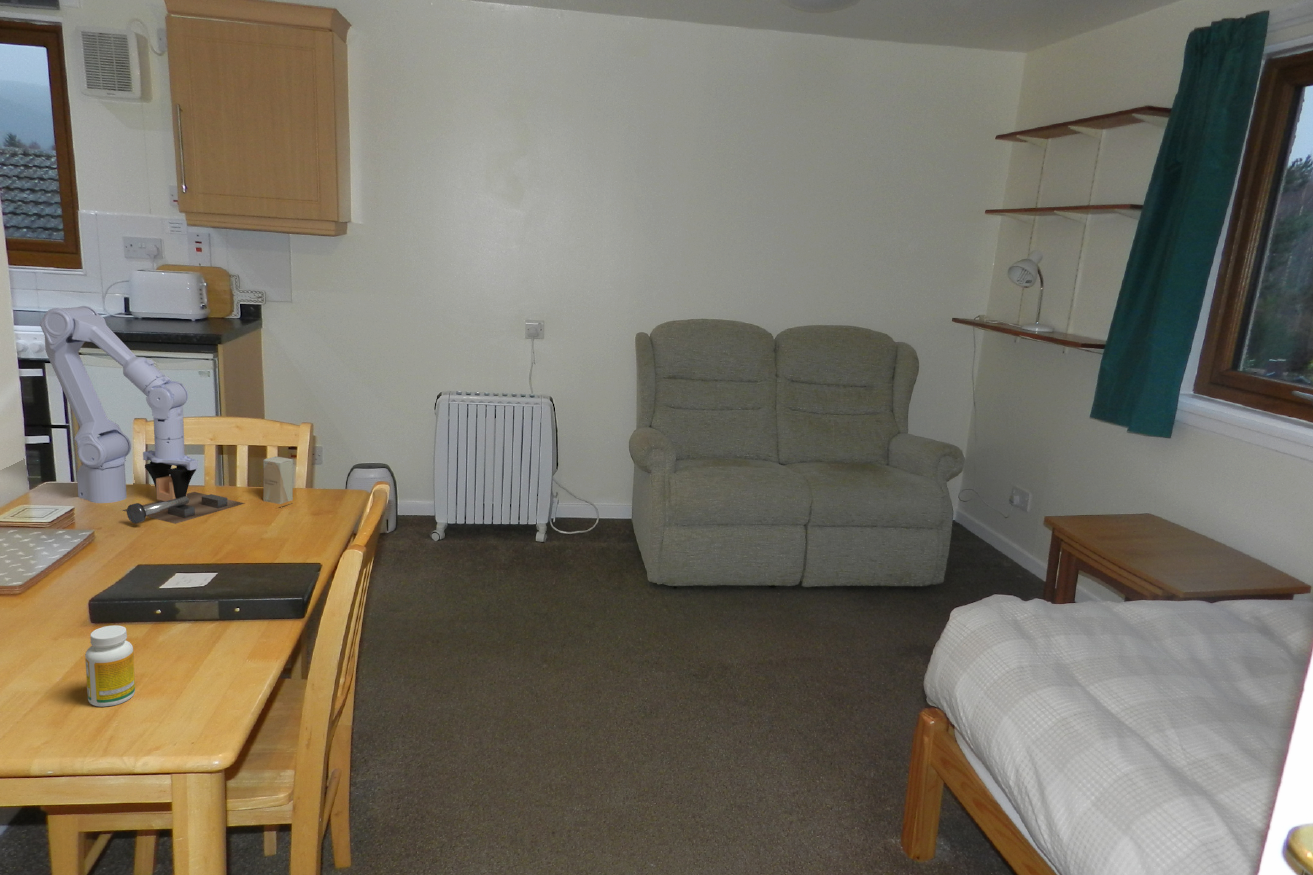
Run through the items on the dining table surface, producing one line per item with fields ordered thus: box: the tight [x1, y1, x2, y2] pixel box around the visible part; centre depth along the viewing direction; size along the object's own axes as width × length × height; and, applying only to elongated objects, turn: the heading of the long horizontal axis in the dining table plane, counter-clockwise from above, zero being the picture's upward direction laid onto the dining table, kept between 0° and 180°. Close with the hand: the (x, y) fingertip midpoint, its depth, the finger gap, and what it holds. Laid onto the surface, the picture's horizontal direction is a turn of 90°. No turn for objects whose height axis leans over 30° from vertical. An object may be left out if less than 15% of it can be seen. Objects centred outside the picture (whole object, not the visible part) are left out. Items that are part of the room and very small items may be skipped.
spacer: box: [155, 475, 188, 501], centre depth 188 cm, size 5×4×5 cm
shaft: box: [126, 496, 189, 524], centre depth 177 cm, size 4×12×4 cm, turn 158°
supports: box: [168, 493, 228, 518], centre depth 186 cm, size 5×11×2 cm, turn 158°
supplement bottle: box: [84, 624, 136, 708], centre depth 112 cm, size 5×5×10 cm
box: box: [262, 456, 294, 509], centre depth 196 cm, size 5×4×11 cm
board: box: [121, 491, 246, 525], centre depth 188 cm, size 16×18×1 cm
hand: (171, 495), depth 189 cm, fingers closed on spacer, 5 cm apart
